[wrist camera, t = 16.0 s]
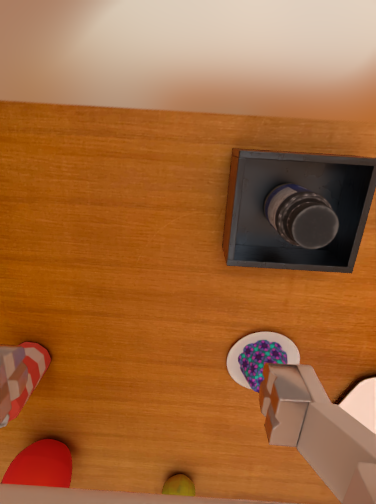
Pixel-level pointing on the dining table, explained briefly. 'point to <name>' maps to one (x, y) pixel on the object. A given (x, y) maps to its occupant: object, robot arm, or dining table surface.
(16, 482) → the tomato
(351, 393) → the plate
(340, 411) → the robot arm
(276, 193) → the pill bottle
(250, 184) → the open box
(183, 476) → the fruit
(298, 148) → the dining table surface
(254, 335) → the pudding
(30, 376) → the beverage can
